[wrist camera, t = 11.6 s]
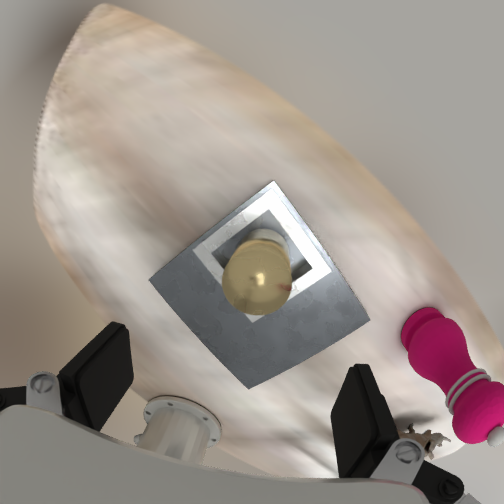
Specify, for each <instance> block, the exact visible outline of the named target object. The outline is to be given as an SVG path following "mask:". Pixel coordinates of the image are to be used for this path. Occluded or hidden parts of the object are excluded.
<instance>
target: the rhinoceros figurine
mask: <svg viewBox="0 0 504 504" xmlns="http://www.w3.org/2000/svg"><path fill="white" fill-rule="evenodd" d="M397 431H398V434H399V437H400V439H403V438H409V439H412V440H415V441H417V442H418V443H420V445H421V446H422V447H423V449H424V451H425V457H426V456H427V455H428V456H429V458H430V459H431V460H432V459H433V458H434V455H433V454H432V451H433V450H434V448H435V446H436V445H437V444H439V445H437V446H439V447H440V446H442V444H441V443H442V441H443V440H447V441H449V442H451V440H449V439H448V438H447V437H444V436H443V435H442V434H441V433H433V434H431V430H427V431H425V432H424V433H423V434H419V433H415V430H414V429H413V424H410V427H409V433H403V432H402V431H401V430H397Z"/></svg>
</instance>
